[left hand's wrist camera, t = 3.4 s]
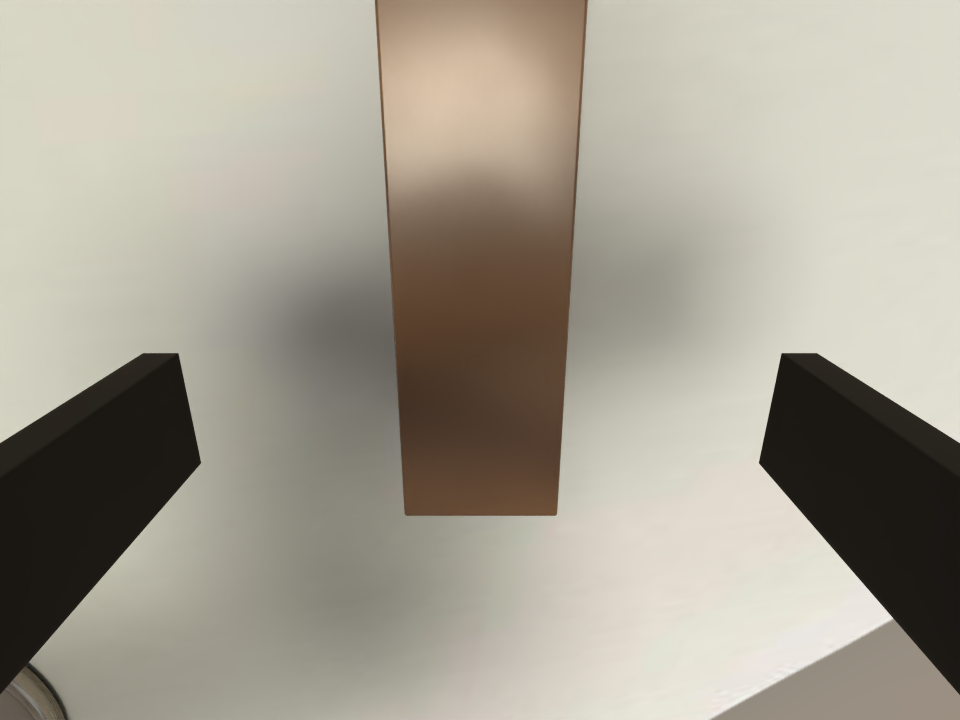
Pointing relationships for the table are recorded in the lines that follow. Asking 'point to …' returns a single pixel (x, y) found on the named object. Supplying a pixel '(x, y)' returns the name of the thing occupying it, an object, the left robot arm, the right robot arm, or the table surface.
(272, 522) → the table surface
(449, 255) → the bar
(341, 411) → the table surface
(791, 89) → the table surface
